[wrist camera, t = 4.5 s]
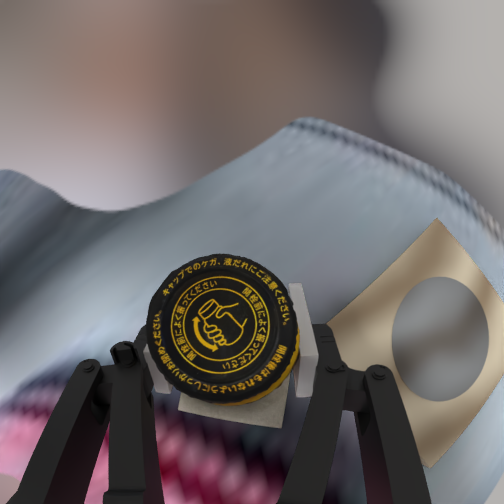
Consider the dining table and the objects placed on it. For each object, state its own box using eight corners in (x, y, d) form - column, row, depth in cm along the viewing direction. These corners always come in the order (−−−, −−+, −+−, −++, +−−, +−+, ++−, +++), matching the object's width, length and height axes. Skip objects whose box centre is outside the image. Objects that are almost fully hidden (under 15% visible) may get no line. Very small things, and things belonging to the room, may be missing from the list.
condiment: (298, 313, 21) (332, 242, 10) (281, 427, 18) (299, 488, 7) (200, 299, 22) (138, 220, 11) (179, 409, 19) (89, 436, 8)
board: (314, 333, 21) (317, 330, 20) (430, 223, 24) (437, 217, 23) (423, 465, 16) (431, 468, 15) (516, 338, 19) (524, 335, 18)
